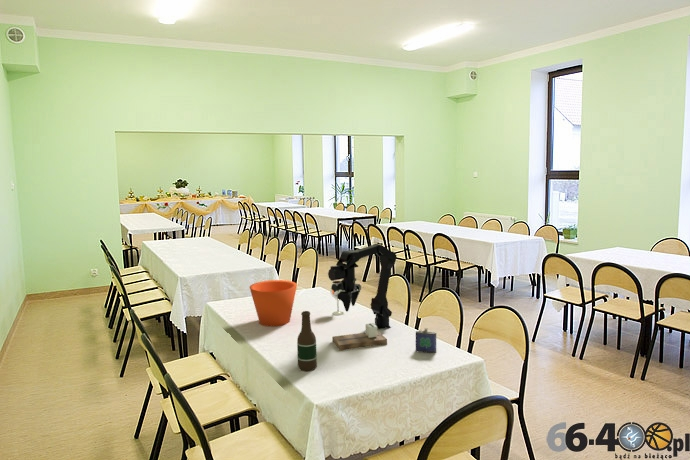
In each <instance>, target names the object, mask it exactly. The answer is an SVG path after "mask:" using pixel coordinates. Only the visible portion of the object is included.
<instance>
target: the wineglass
mask: <svg viewBox="0 0 690 460" xmlns="http://www.w3.org/2000/svg"><path fill="white" fill-rule="evenodd" d="M341 281H342V280H334V281H331V282H332V283H331V285H332V284H335V283H339V282H341ZM331 288H332V287H331V286H330V295H331V296H332V298H333V299H335V300H336V305H337V306H336V308H337V309H336V310H337V311H333V312H332V315H333V316H342V315H345V313H344V311H341V310H340V309H339V308H340V306H339V304H340V303H339V301H340V300H339V299H337V294H338V293H340V292H341V290H338V291H336V292H334V291H333V290H332V289H331Z"/></svg>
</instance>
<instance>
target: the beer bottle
mask: <svg viewBox="0 0 690 460" xmlns="http://www.w3.org/2000/svg"><path fill="white" fill-rule="evenodd" d="M300 315H301V328H300V332H299V334H298V336H297V338H296V339H297V340H296V341H297V342H296V345H297V346H296V347H297V368H298V369H299V371H302V372H311V371H315V369H316V368H317V367H318V366H317V364H318V361H317V360H318V359H317V358H318V357H317V356H318V355H317V337H316V335H315V333H314V332H313V330H312V325H311V316H310V315H311V312H310V311H309V310H304V311H301V314H300Z"/></svg>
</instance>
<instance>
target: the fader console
mask: <svg viewBox="0 0 690 460" xmlns="http://www.w3.org/2000/svg"><path fill="white" fill-rule="evenodd" d="M331 339H332V343H333V344H334V346H335V347H336V348H337V350H338V351H346V350H353V349H360V348H361V349H362V348H370V347H378V346H385V345H388V339H387V337H385V336H384V335H383V334H382V333H381V332H380V331H378V330H377V337H371V338H369V337H368V336H367V335H366V332H360V333H351V334H343V335H334V336H332V338H331Z"/></svg>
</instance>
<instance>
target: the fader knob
mask: <svg viewBox="0 0 690 460" xmlns="http://www.w3.org/2000/svg"><path fill="white" fill-rule="evenodd" d="M377 331H378V328H377V326H376V325H375V322H373V323H365V333H366V335H367V336H368V337H369V338H371V337H377Z"/></svg>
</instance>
